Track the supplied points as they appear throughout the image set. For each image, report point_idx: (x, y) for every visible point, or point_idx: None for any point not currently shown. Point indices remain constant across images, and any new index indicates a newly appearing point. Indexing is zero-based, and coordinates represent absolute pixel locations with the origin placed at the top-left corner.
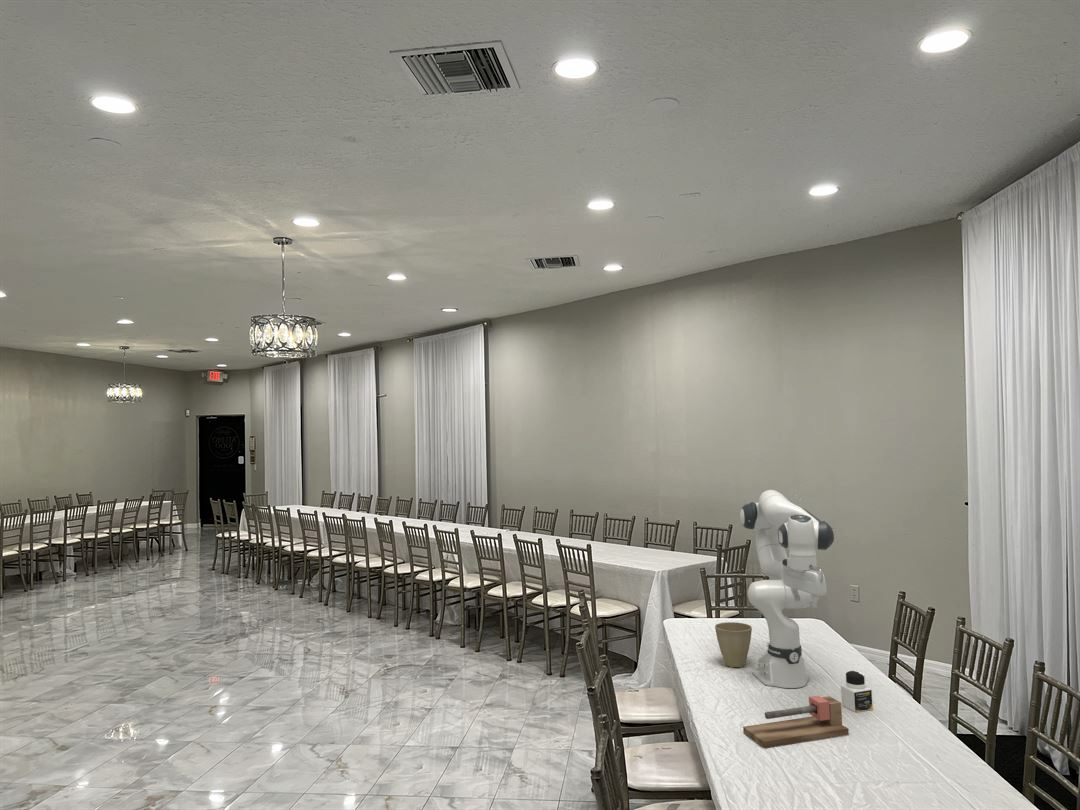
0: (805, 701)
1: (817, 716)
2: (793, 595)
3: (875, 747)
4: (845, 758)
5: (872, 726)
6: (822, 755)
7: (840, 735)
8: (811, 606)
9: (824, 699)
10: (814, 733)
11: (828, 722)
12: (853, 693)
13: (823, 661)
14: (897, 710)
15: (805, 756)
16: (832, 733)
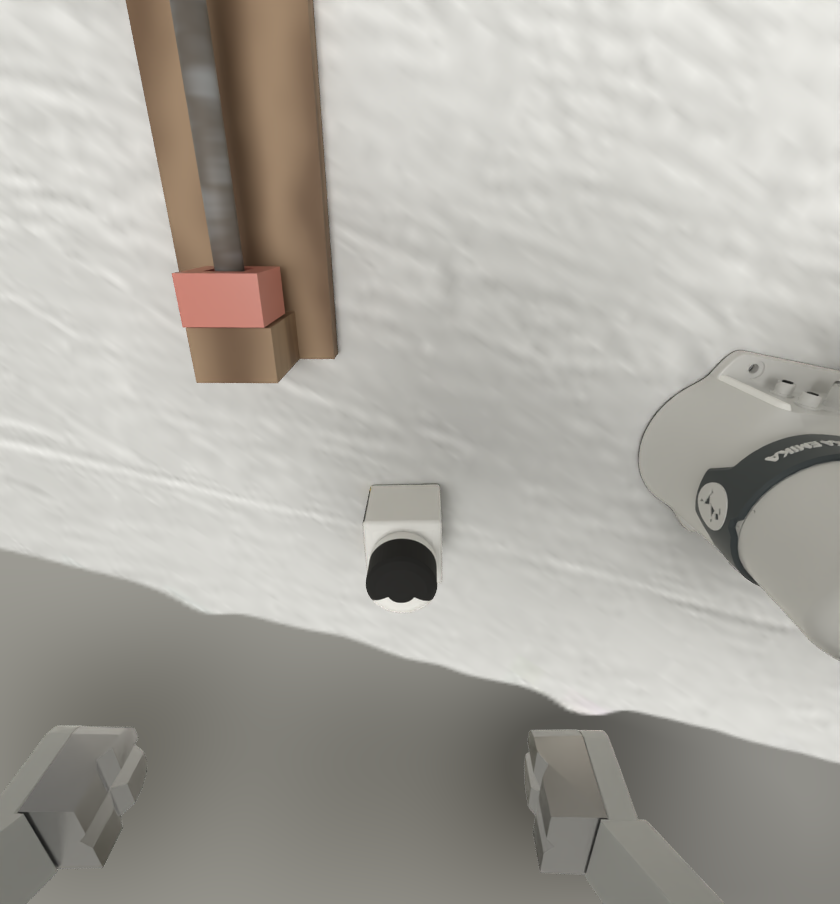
0: (520, 397)
1: None
2: (636, 823)
3: (100, 369)
4: (13, 212)
5: (257, 463)
6: (40, 139)
7: None
8: (91, 728)
9: (210, 323)
10: (168, 202)
11: None
12: (367, 518)
13: (790, 654)
14: (350, 593)
15: (30, 57)
16: None
